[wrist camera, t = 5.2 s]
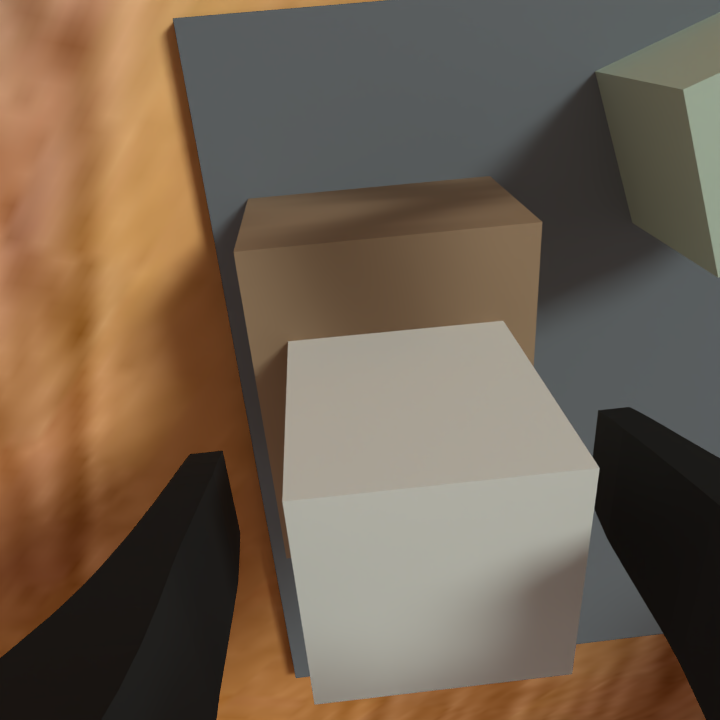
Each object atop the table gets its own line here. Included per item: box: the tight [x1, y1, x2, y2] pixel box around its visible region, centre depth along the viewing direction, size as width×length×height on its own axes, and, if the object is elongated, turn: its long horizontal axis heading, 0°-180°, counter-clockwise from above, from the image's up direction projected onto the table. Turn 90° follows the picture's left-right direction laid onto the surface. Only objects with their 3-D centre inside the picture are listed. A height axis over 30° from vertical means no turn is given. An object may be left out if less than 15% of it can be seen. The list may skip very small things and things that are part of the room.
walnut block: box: [234, 176, 542, 558], centre depth 16 cm, size 6×8×4 cm
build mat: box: [173, 0, 720, 678], centre depth 20 cm, size 15×22×1 cm
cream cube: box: [282, 321, 600, 704], centre depth 12 cm, size 4×4×5 cm
